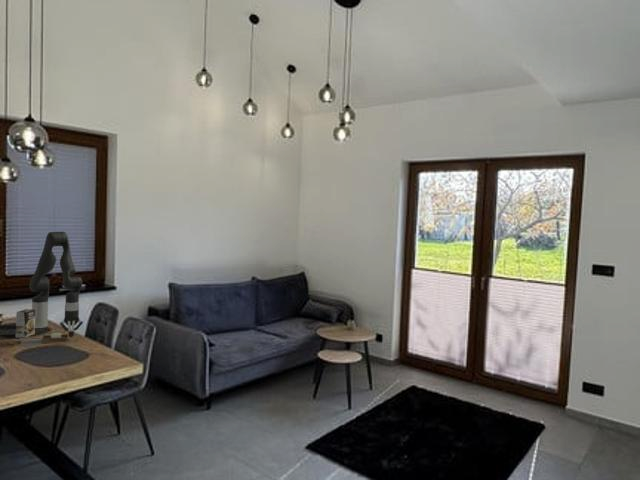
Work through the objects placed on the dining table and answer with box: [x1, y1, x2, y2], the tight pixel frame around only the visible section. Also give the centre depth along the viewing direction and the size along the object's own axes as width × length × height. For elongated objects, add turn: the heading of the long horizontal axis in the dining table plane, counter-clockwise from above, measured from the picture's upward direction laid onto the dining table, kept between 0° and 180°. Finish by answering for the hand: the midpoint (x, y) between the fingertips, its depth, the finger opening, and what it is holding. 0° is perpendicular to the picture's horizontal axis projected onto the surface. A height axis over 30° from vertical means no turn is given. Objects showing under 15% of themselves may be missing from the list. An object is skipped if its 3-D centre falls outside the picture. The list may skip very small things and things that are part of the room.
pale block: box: [50, 332, 62, 338], centre depth 275 cm, size 5×5×4 cm
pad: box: [19, 338, 43, 346], centre depth 269 cm, size 12×11×1 cm
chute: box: [41, 333, 69, 345], centre depth 274 cm, size 12×13×3 cm
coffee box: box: [15, 308, 36, 339], centre depth 282 cm, size 9×6×16 cm
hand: (71, 337), depth 278 cm, fingers closed
